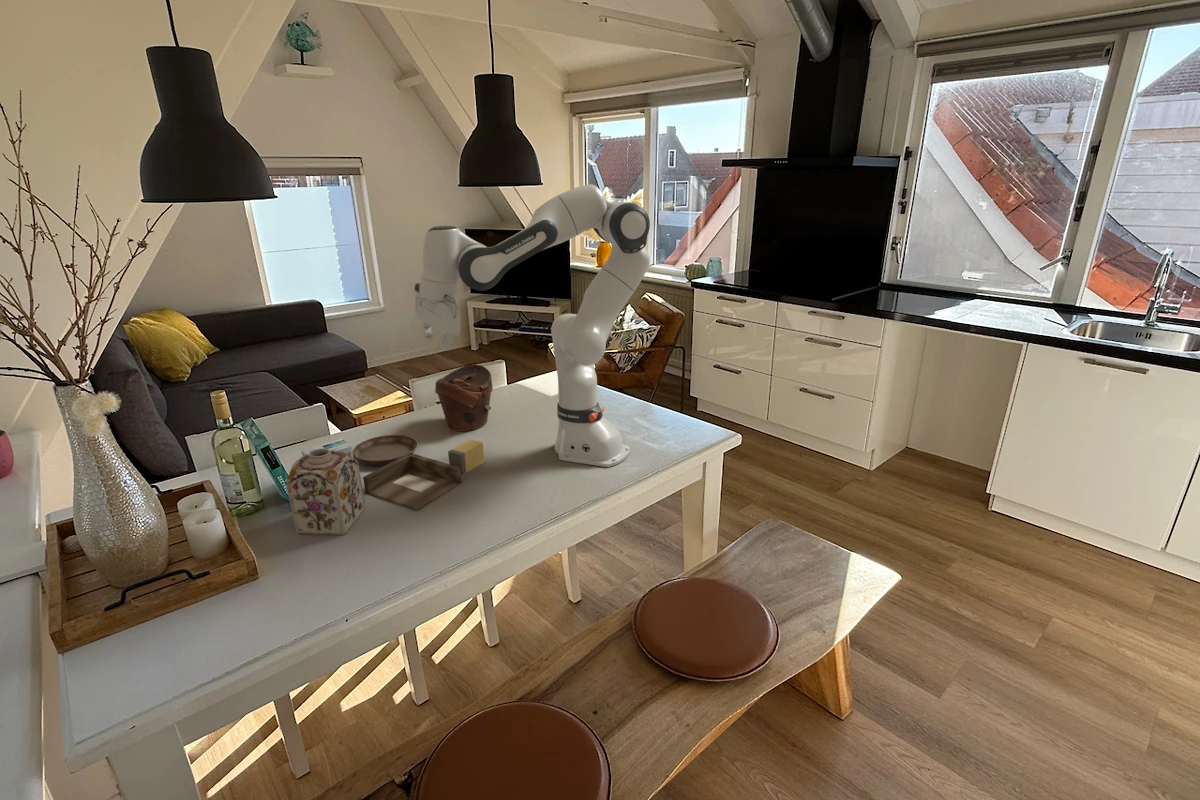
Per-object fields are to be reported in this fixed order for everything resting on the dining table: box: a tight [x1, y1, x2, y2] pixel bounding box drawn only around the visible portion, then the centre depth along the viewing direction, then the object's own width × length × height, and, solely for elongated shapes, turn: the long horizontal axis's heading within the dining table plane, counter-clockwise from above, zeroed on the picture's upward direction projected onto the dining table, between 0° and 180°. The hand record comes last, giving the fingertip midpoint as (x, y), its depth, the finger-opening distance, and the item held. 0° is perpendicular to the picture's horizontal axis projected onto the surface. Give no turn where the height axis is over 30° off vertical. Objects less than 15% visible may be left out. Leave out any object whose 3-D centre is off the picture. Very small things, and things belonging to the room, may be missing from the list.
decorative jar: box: [285, 448, 366, 536], centre depth 138 cm, size 12×12×18 cm
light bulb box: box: [301, 438, 354, 458], centre depth 156 cm, size 11×7×11 cm, turn 134°
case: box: [434, 364, 493, 432], centre depth 192 cm, size 18×20×18 cm
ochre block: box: [447, 438, 485, 476], centre depth 166 cm, size 4×9×6 cm, turn 151°
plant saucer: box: [352, 434, 419, 467], centre depth 173 cm, size 18×18×3 cm
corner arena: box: [362, 453, 463, 511], centre depth 155 cm, size 18×16×4 cm
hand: (435, 344), depth 156 cm, fingers open, 8 cm apart
